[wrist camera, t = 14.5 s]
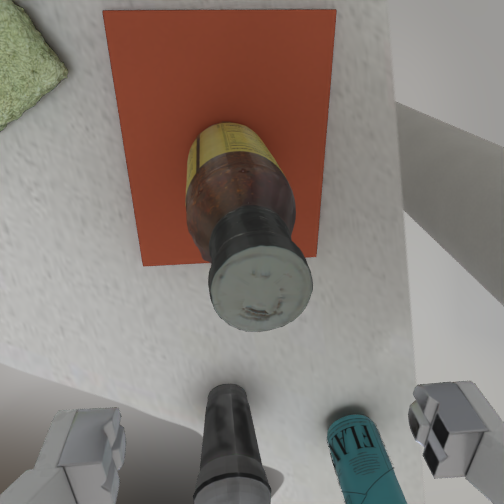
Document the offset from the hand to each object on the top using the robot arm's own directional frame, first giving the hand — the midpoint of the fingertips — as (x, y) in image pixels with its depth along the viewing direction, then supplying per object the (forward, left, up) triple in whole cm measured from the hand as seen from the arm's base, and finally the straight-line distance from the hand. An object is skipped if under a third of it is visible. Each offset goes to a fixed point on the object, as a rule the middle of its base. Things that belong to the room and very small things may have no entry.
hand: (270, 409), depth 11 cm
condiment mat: (0, 0, -26) cm, 26 cm away
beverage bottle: (-14, +35, -26) cm, 46 cm away
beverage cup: (+1, +29, -26) cm, 39 cm away
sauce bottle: (0, 0, -25) cm, 25 cm away
